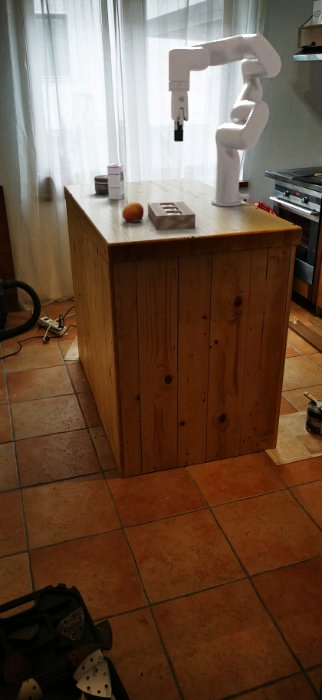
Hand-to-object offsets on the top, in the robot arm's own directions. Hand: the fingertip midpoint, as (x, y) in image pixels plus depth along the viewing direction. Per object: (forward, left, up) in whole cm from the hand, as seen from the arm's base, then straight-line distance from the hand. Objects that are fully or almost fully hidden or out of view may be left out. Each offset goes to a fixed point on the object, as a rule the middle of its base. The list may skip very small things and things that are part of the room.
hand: (178, 141), depth 208 cm
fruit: (+18, +8, -27) cm, 34 cm away
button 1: (+5, +5, -25) cm, 26 cm away
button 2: (+5, +12, -25) cm, 28 cm away
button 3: (+5, +19, -25) cm, 32 cm away
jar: (+25, -48, -27) cm, 61 cm away
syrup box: (+21, -36, -27) cm, 50 cm away
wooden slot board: (+5, +12, -27) cm, 30 cm away
